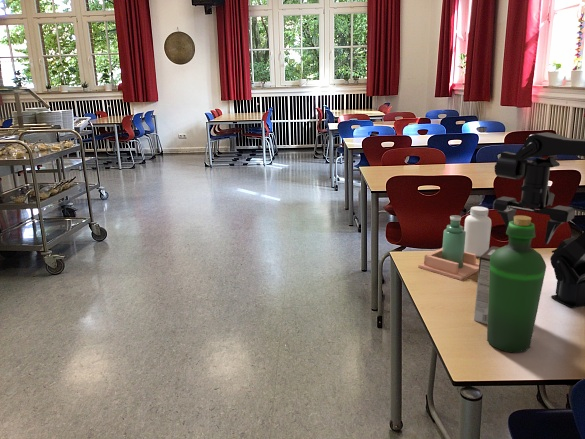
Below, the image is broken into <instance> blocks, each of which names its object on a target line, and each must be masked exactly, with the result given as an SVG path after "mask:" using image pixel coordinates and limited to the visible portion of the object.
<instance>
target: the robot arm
mask: <svg viewBox="0 0 585 439" xmlns="http://www.w3.org/2000/svg"><path fill="white" fill-rule="evenodd" d="M559 155H566V156H576V157H585V139H583V138H571V137H566V136H563V135H561V134H556V133H553V132H548V131H547V132H541V133H540V132H539V133H533V134H530V135H528V137H526V138H525V140H524V143H523V145H522V146H521V148H520V149H518V151H517V152H516V153H513V152H510V151H503V152H502V151H501V152H500V156H499V158H498V159H497V160H496V163H495V165H494V173H495V175H496V176H497V177H500V178H507V179H513V180H520V179H522V178H523V184H522V185H521V186H520V191H521V198H520V199H521V200H520V201H519V202H517V199H516V198H515V197H511V196H509V197H508V196H501V197H498V198H496V199H495V200H493V203H492V210H494V211H495V210H496V211H497V214H498V215H500V217H501V219H502V220H503V223H504V224H505V228H506V229H507V228H508V225H509V222H511V221H514V216H516V213H517V210H519V211H523V212H529V213H535V214H541V215H545V216H549V218H550V219H549V220H547V225H546V228H545V229H546V230H545V237H544V244H545V245H549V243H550V241H551V239H552V238H553V235H554V234H555V232H556V230H557V229H558V228H559V227H560V226H561V225H563V224H564V223H568V222H569V221H572V220H574V219H575V215H576V214H575V213H576V211H575V209H574V207H572V206H566V205H565V206H564V205H561V204H559V205H556V206H554V207H551V206H553V203H554V198H555V195H556V194H554V193H553V192H551V191H550V185H549V178H550V172H551V171H550V170H551V168H552V169H553V168H557V167H560V162H558V161H557V160H556V158H555V156H559ZM540 157H542V158H540ZM543 157H547V158H543ZM532 158H534V159H533V160H528V159H532ZM548 206H549V207H548ZM551 253H552V255H551V256H550V258H549V260H550V265H551V267H552V268H553V270H554V271H553V272H554V275H555V279H556V280H557V281H556V287H555V294H553V295H551V296H550V298H551V299H553V300H555V301H557V302H559V303H561V304H563V305H564V306H566V307H568V308H577V307H583V306H584V307H585V230H584V231H582V233H581V234H580V235H579V236H578V237H576V236H572V237H569V238H566V239H564V240H562V241H561V242H560V243H559V244H558V246H557V248H555V249H553V250H551Z"/></svg>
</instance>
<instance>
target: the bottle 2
mask: <svg viewBox="0 0 585 439" xmlns="http://www.w3.org/2000/svg"><path fill="white" fill-rule="evenodd" d="M531 221H532V217H530V216H528V215H522V214H521V215H517V214H516V215H515V216H514V221H511V222H509V225H508V228H506V230H505V231H506V232H505V235H507V236H508V244H506V245H504V246H501V247H500V248H499V249H497V250H495V251H494V253H493V254H492V255H491V256H490V273H489V299H488V324H486V325H487V328H486V330H487V331H486V333H487V334H486V341H487V343H489V344H490V345H491V346H492V347H494V348H496V349H498V350H501V351H503V352H508V353H520V352H526V351H527V350H528V349H530V348H531V345H532V344H531V343H532V340H533V339H532V338H533V333H534V329H535V324H536V321H537V315H538V309H539V305H540V299H541V294H542V290H543V284H544V280H545V276H546V269H547V264H546V262H545V259H544V258H543V256H542V254H541V253H540V252H538V251H537V250H535V249H534V248H533V247H531V245H532V241H533V239H534V238H536V237H537V236H536V226H535V223H532V222H531Z"/></svg>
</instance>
